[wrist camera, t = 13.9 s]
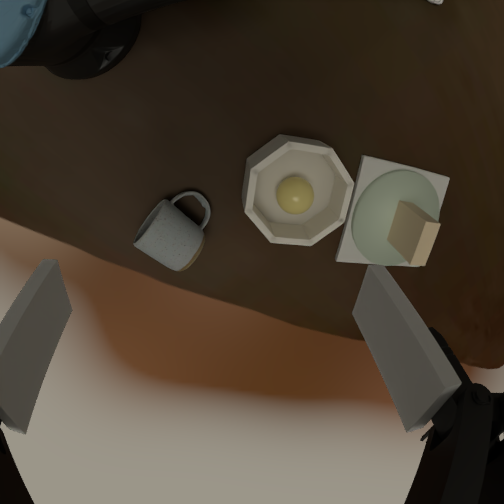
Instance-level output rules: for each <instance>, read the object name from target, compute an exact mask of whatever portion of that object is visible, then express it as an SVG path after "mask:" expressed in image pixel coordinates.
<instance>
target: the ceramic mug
mask: <svg viewBox="0 0 504 504" xmlns="http://www.w3.org/2000/svg"><path fill="white" fill-rule="evenodd" d="M186 195H194V196H195V197H196V198H197V199H198V200H199V201H200V202H201V204H202V206H203V207H205V209H206V211H205V217H204V219H203V221H202V223H201V224H200V226H198V225H197V224H195V223H194V222H193V221H192V220H191V219H190V218H188V217H187V216H185V215H184V214H183V213H182V212H181V211H180V210H179V209H178V208H177V207H175V206H174V202H175V201H176V200H178V199H180V198H181V197H183V196H186ZM209 217H210V206H209V203H208V201H207V200H206V199H205V198H204V197H203V196H202V195H201V194H200V193H198V192H194V191H186V192H183V193H180V194H178V195H177V196H176V197H174V198H173V199H172V200H171V201H168V200H166V199H164V200H163V201H161V202H160V203H159V204H158V205H157V206H156V207H155V208H154V209H153V211H152V212H151V213H150V214H149V216H148V217H147V218H146V220H145V221H144V223H143V224H142V226H141V227H140V229H139V231H138V233H137V235H136V237H135V239H134V243H133V244H134V246H135V247H137V248H138V249H140V250H141V251H143V252H145V253H146V254H148V255H149V256H151V257H152V258H154V259H156V260H157V261H159V262H160V263H162V264H163V265H165V266H166V267H168V268H170V269H173V270H175V271H183V270H185V269H187V268H188V267H189V266H190V265H191V264H192V263H193V262H194V261H195V260H196V258H197V257H198V255H199V254H200V252H201V250H202V248H203V246H204V244H205V234H204V232H203V228H204V227H205V226H206V224H207V222H208V221H209Z"/></svg>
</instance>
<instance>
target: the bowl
mask: <svg viewBox="0 0 504 504" xmlns="http://www.w3.org/2000/svg"><path fill="white" fill-rule="evenodd" d="M353 187H354V182H353V180H352V179H351V177H350V175H349V174H348V172H347V171H346V169H345V167H344V166H343V164H342V163H341V161H340V159H339V158H338V156H337V155H336V153H335V152H334V150H333V148H331V147H329V146H328V145H326V144H324V143H322V142H321V141H319V140H313V139H307V138H301V137H295V136H288V135H282V134H279V135H278V136H277V137H275V138H274V139H272V140H271V141H270V142H268V143H267V144H266V145H264V146H263V147H261V148H260V149H259V150H257V151H256V152H255V153H253V154H252V155H251V156H249V157H248V158H247V160H246V168H245V175H244V183H243V190H242V196H241V197H242V202H243V207H244V212H245V213H246V214H247V215H248V217H249V218H250V219H251V220H252V221H253V222H254V224H255V225H256V226H257V227H258V228H259V229H260V231H261V232H262V233H263V234H264V235H265V236H266V238H267V239H268V240H269V241H270V243H280V244H293V245H305V246H312V245H313V244H314V243H316V242H317V241H319V240H320V239H322V238H323V237H324V236H326V235H327V234H329V233H330V232H332V231H333V230H334V229H336V228H337V227H339V226H340V225H341V224H343V223H344V222H345V218H346V214H347V211H348V207H349V203H350V199H351V195H352V191H353Z"/></svg>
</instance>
